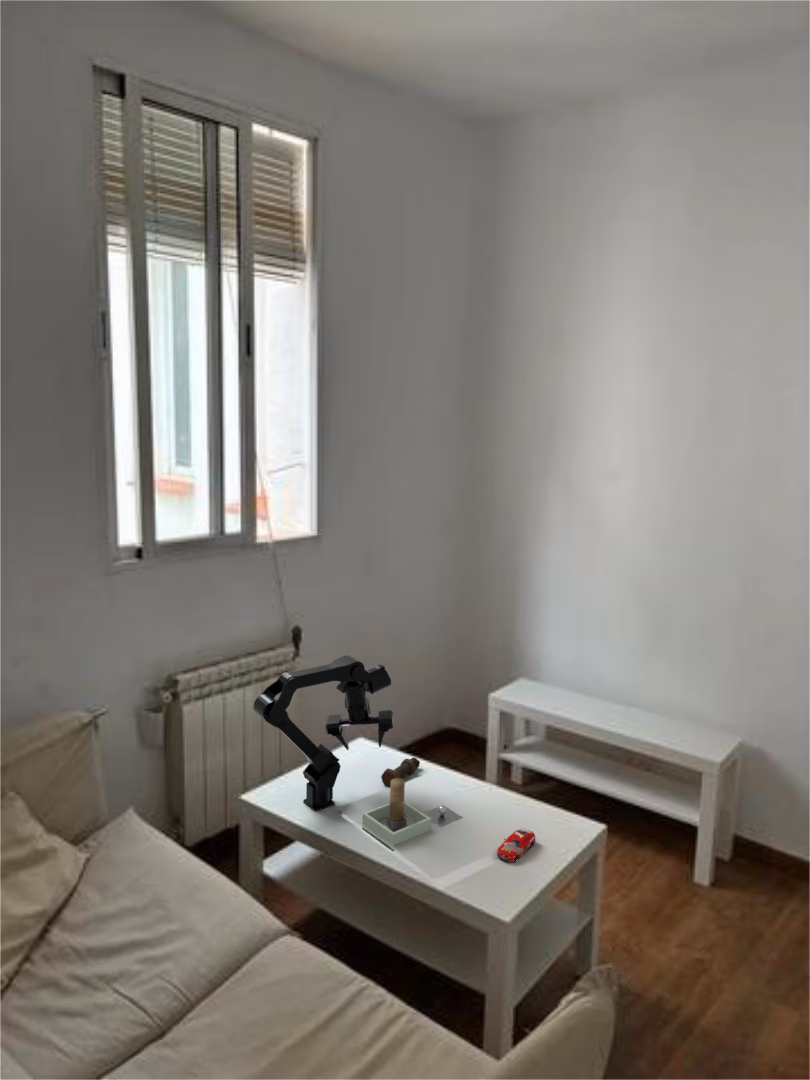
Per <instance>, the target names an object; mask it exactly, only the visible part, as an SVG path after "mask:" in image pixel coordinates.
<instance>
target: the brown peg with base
mask: <svg viewBox="0 0 810 1080" xmlns="http://www.w3.org/2000/svg"><path fill="white" fill-rule="evenodd" d="M405 784H406V783H405V780H404V779H403V778H401V779H400V778H395V779H392V780H391V785H390V788H389V790H390V791H389V793H390V795H389V797H390V798H389V803H390V815H386V817H385V818H386V821H385V823H386V825H385V826H387V828H388V829H390V830H391V831H392V832H395V831H398V830H400V829H403V828H405V827H407V826H408V825H407V824H408V819H406V816H404V801H405Z"/></svg>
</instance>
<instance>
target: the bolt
mask: <svg viewBox="0 0 810 1080" xmlns="http://www.w3.org/2000/svg"><path fill="white" fill-rule="evenodd" d="M420 764H421V763H420V760H419V759H417V758H416V757H412V758H404V759H403V760H402V761H401V763H400V765H399V766H397V767H395V768H394V769H392V768H386V769H385V770H384V771H383V773H382V774H381V776H380V777H381V782H382V784H383V785H384V787H387V788H389V789H390V785H391V780H392V779H395V778H400V779H403V778H404V777H406V776H412V775H413V774H414V773H415V772H416V770H417V769H418V768H419V767H420Z"/></svg>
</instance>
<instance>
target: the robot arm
mask: <svg viewBox="0 0 810 1080" xmlns="http://www.w3.org/2000/svg"><path fill="white" fill-rule="evenodd" d="M391 679H392V678H391V677H390V675H389V673H388V671H387V670H386V667H385V666H384V665H383V664H377V665H375V666H374V667H372V668H370V669H368V670H366V669H365V665H364V663H363V662H362V661H360V660H359V659H356V658H355V657H353V656H351V655H348V654H347V655H343V656H340V657H337V658H336V659H334V660H333V661H332V662H330V663H329V664H328V663H327V664H323V665H320V666H316V667H310V668H306V669H300V670H296V671H291V672H290V671H288V672H282V673H281V674H280V675H279V677H278V678H277V680H275V681H274V682H272V683H271V684H270V685H268V686H267V687H266V688H265V689H264V690H263V691H262V693H261V694H260V695H259V696H257V697H256V698H255V700H254V702H253V707H252V710H253V711H254V712H255V713H256V714H257V716H259V717H260V718H261V719H263V720H264V721H265V722H266V723H268V724H269V725H271V726H273V727H274V728H276V729H278V730H279V731H280V732H281V733H282V734H283V735H284V736H285V737H286V738H287V739H288V740H289V741H290V742H291V743H292V744H294V746H295V748H297V749H299V751H300V752H301V753H302V754H303V755H304V756H305V758H306V759H307V762H308V765H307V766H306V767H305V768H304V769H303V771H302V775H303V777H304V779H305V780H307V781H308V782H306V791H305V792H306V796H305V797H306V798H305V799H303V800H302V801H303V803H304V804H305V803H306V804H305V805H307V806H308V807H309V806H310V807H309V808H311V809H312V810H313V809H314V810H313V811H314V812H315V811H316V812H317V810H318V811H319V810H323V809H325V808H328V807H331V806H334V805H335V804H336V802H335V801H334V800H333V797H334V794H333V793H334V787H335V784H336V780H337V778H338V775H339V773H340V771H341V767H342V766H341V764H340V762H339V761H340V758H338V757H337V756H336V755H335V754H334V753H333V752H332V751H331V750H330V749H328V747H326V746H325V745H324V744H322V743H319V745H318V746H317V745H315V743H314V742H313V741H312V740H311V739H310V738H309V737H308V736H307V735H306V734H305V733H304V732H303V731H302V730H301V729H300V728H299V727H298V725H296V724H295V723H294V722H293V721H292V720H291V718H290V716H289V713H288V712H287V709H288V708H289V706H290V705H291V701H292V699H293V697H294V694H295V692H296V691H297V690H298V689H303V688H308V687H312V686H313V687H314V686H317V685H321V684H326V683H331V682H339V683H338V685H336V687H335V689H336V690H338V691H339V692H340V693H342V694H344V708H345V710H347V715H348V718H343V717H342V714H334V715H333V714H332V715H328V716H327V718H326V722H325V732H326V734H327V735H331V736H332V737H335V738H336V739H337V740H338V741H339V742H340V743H341V744H342V746H343V747H344V748H345V749H346V751H349V750H350V745H349V741H348V738H347V733H346V728H345V727H357V726H363V725H365V726H366V725H376V724H377V725H378V728H377V729H378V730H377V731H378V732H377V737H378V739H377V742H378V747H379V748H381V747H382V742H383V739H384V736H385V733H386V732H389V731H390V730H392V729H393V728H394V721H395V719H394V718H395V717H394V712H393V711H392V710H390V709H388V710H379V711H378V715H376V716H374V715H373V716H370V715H371V705H370V697H368V696H367V693H369V694H372V695H374V694H375V693H378V692H380V691H382V690H385V689H387V688H390V687H391V685H392V680H391ZM366 692H367V693H366ZM277 695H279V697H278V699H276V698H275V697H276V696H277Z"/></svg>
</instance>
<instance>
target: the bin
mask: <svg viewBox="0 0 810 1080" xmlns="http://www.w3.org/2000/svg"><path fill="white" fill-rule="evenodd" d="M423 813H424V812H422V811H420V810H418V808H416V807H414V806H412V805H411V804H410V803H408V802H406V801H405V800H404V815H405V817H407V818H409V819H411V820H413V821H414V822H415V823H412V824H410V825H407V827H405V828H403V829H400V830H398V831H395V832H392V831H391V830H390V829H389V827H388V826H387V827H386V825H384V824H382V823H381V822H379V820H382V819H384V818H386V815H390V802H388V803H385V804H383V805H380V806H379V807H376V808H372V809H371V810H370V809H369V810H368V811H365V812H362V822H361V823H362V825H363V826H362V828H361V830H362V831H364V832H365V833H367V834H368V835H369V834H370V835H369V836H371V837H372V838H373V839H375V840H376V841H377V842H379V843H380V844H381V845H383V846H385V848H386V849H388V850H390V851H391V852H394V851H396V850H395V849H394V848H393V847H394V846H396V845H398V844H400V843H403V842H405V841H408V840H410V839H412V838H414V837H417V836H419V835H422V834H424V833H426V832H428V831H431V830H432V821H431V818H430V817H428V816H427V815H425V814H423ZM365 827H366V828H367V829H366V828H365ZM369 830H370V831H371V832H370V831H369ZM373 833H374V834H375V835H374V834H373ZM376 835H377V836H378V837H377V836H376ZM382 839H383V840H384V841H383V840H382ZM386 842H387V843H386ZM389 844H390V845H389ZM391 846H392V847H391Z"/></svg>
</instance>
